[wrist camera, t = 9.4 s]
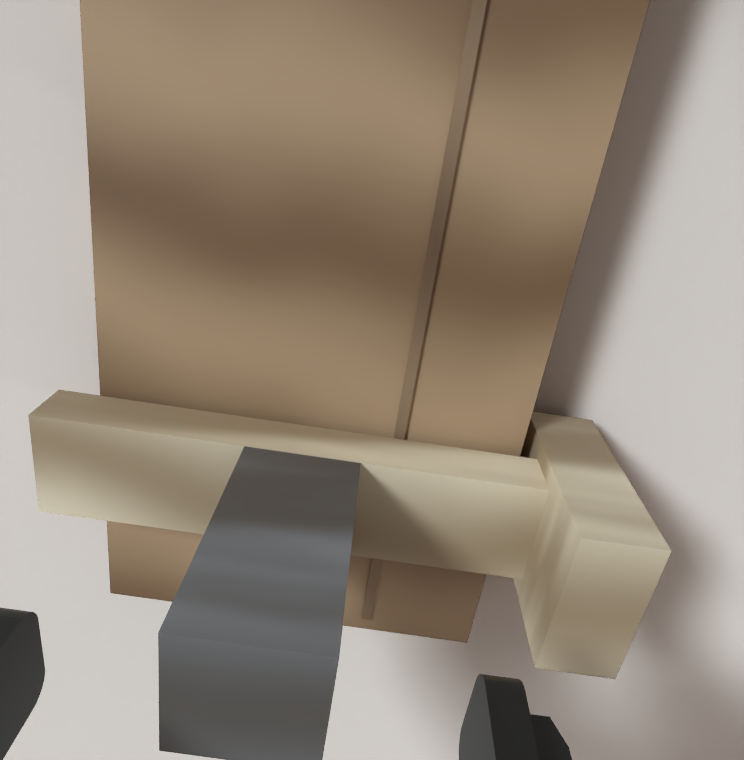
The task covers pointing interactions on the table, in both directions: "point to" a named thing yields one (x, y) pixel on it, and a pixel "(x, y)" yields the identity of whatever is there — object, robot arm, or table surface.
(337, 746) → the table surface
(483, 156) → the board
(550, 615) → the cream flanged bar
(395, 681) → the table surface
